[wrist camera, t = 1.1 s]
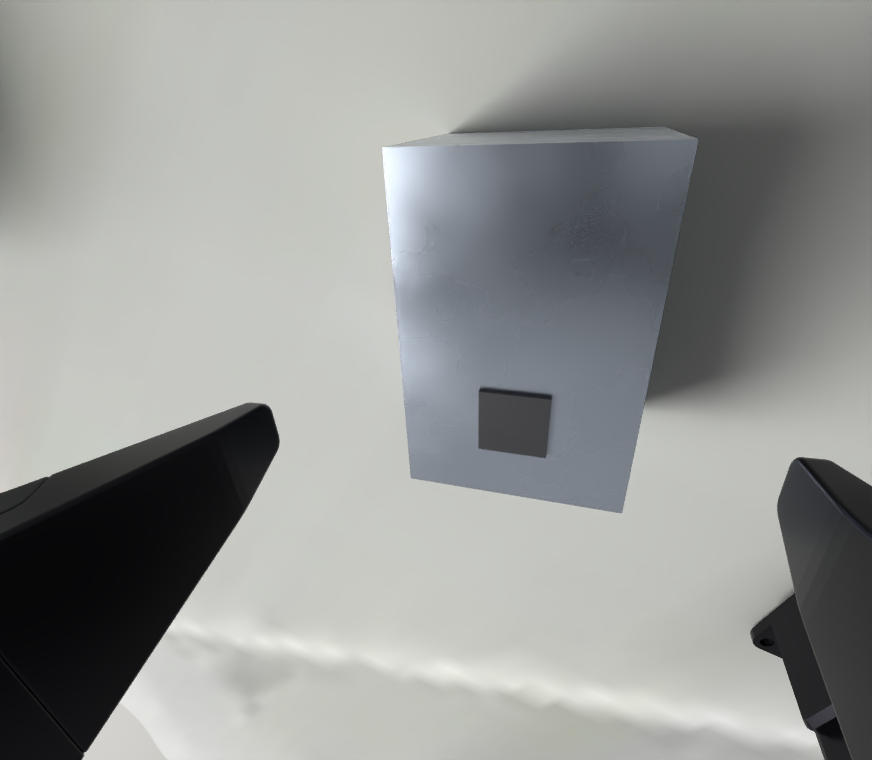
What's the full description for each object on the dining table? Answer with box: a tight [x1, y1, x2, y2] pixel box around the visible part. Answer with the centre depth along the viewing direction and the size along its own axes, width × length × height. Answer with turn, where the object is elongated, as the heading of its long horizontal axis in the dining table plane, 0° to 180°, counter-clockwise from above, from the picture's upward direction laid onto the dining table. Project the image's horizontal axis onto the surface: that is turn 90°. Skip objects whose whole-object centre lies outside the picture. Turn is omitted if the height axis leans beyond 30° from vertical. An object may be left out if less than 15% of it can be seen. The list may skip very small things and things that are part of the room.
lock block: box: [382, 126, 699, 513], centre depth 14 cm, size 6×9×6 cm, turn 3°
